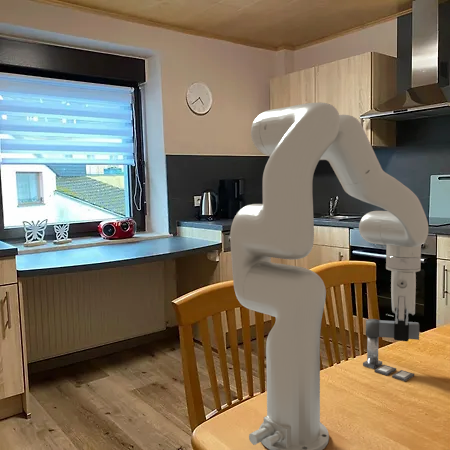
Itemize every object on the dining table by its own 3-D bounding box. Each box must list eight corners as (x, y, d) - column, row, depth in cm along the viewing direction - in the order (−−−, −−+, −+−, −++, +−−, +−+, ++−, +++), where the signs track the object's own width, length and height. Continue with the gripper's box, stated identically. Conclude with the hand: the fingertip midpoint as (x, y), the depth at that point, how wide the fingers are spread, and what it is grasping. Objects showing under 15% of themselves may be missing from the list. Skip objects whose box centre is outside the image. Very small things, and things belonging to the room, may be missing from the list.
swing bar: (419, 340, 111) (419, 325, 111) (365, 336, 115) (365, 322, 114) (417, 335, 115) (418, 321, 114) (365, 332, 118) (365, 318, 118)
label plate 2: (405, 381, 107) (405, 379, 107) (392, 377, 109) (392, 374, 109) (414, 375, 110) (414, 373, 110) (401, 371, 112) (401, 369, 112)
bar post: (373, 369, 114) (374, 340, 113) (362, 365, 116) (363, 337, 116) (382, 364, 117) (382, 336, 116) (371, 361, 119) (371, 333, 118)
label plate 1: (386, 375, 110) (386, 373, 110) (374, 371, 113) (374, 369, 113) (396, 370, 113) (396, 367, 113) (384, 366, 116) (384, 364, 116)
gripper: (420, 269, 101) (418, 352, 103) (420, 259, 115) (418, 332, 116) (384, 267, 104) (382, 348, 105) (388, 257, 118) (386, 328, 119)
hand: (401, 339), depth 111 cm, fingers closed
